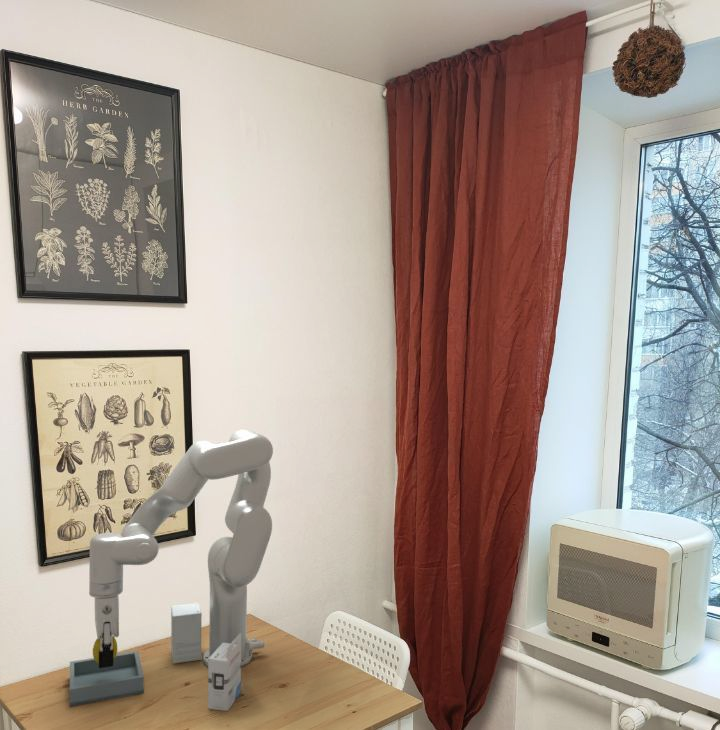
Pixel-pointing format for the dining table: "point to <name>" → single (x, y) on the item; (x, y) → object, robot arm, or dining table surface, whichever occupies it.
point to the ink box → (224, 675)
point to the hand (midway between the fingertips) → (105, 660)
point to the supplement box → (186, 632)
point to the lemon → (97, 648)
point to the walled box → (105, 679)
